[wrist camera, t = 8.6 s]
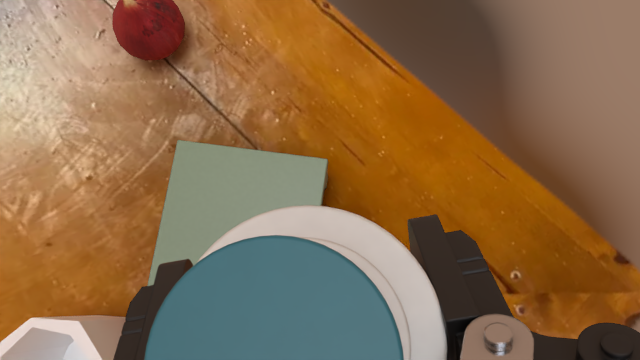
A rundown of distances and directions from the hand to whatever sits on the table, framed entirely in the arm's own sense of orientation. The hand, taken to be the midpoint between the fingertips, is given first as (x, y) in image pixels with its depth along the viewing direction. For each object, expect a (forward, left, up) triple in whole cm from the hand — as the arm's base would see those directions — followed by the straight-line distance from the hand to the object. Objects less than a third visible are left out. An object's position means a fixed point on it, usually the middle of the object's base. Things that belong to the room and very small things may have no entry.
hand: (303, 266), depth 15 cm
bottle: (-1, +2, -5) cm, 6 cm away
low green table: (+8, -4, -32) cm, 33 cm away
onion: (+19, -20, -32) cm, 43 cm away
